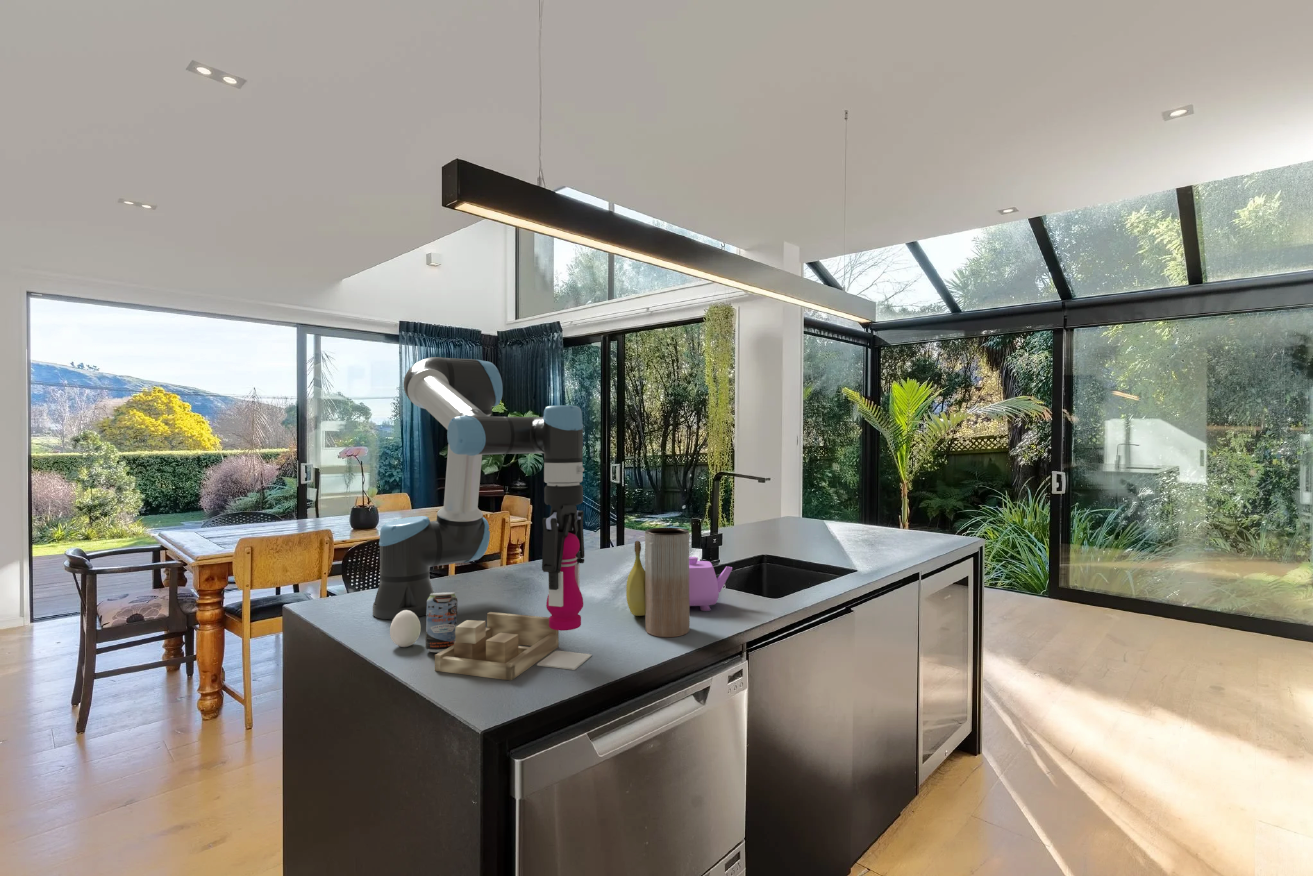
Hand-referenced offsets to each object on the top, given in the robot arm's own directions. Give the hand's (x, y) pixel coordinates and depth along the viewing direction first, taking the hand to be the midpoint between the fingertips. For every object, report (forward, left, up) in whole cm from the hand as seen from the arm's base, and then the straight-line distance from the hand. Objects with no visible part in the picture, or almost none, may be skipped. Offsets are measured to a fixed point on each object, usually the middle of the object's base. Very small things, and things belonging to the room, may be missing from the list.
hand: (564, 600), depth 125 cm
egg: (-36, -2, -12) cm, 38 cm away
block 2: (-17, -7, -12) cm, 22 cm away
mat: (0, 0, -12) cm, 12 cm away
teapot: (+15, +46, -12) cm, 50 cm away
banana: (+4, +34, -12) cm, 36 cm away
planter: (+14, +24, -12) cm, 30 cm away
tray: (-13, -2, -12) cm, 18 cm away
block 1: (-17, -7, -7) cm, 19 cm away
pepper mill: (0, 0, -5) cm, 5 cm away
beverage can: (-27, -2, -12) cm, 30 cm away
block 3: (-10, -7, -12) cm, 17 cm away
